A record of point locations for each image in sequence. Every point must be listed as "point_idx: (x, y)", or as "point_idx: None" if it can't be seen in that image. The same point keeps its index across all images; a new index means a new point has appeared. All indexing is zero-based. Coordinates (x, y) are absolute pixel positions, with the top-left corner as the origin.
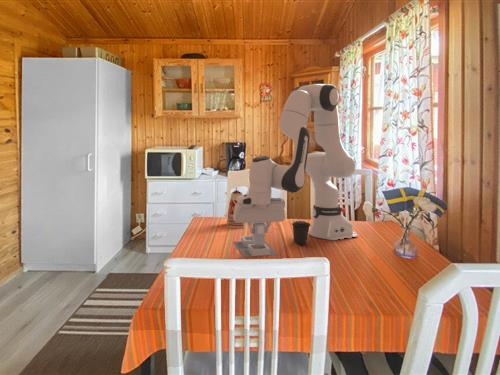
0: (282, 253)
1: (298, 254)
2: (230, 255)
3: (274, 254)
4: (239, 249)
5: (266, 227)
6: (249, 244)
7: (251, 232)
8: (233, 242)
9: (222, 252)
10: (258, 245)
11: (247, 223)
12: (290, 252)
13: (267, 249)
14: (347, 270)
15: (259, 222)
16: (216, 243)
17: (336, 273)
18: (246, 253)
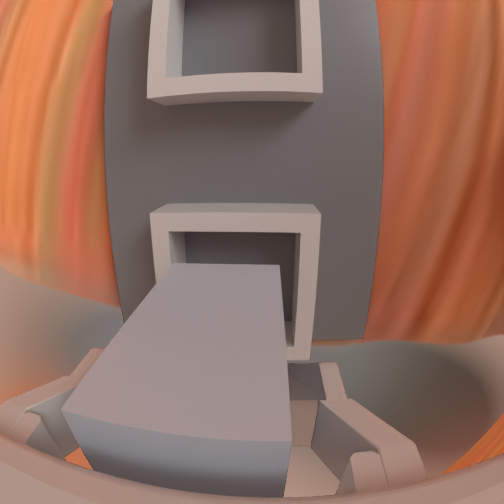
0: (420, 261)
1: (485, 294)
2: (66, 237)
3: (342, 329)
4: (113, 174)
5: (322, 445)
6: (164, 218)
7: None
8: (112, 7)
9: (32, 174)
10: (251, 230)
11: (4, 418)
12: (469, 251)
13: (290, 358)
14: (490, 449)
15: (198, 464)
16: (41, 5)
17: (448, 470)
18: (149, 272)
